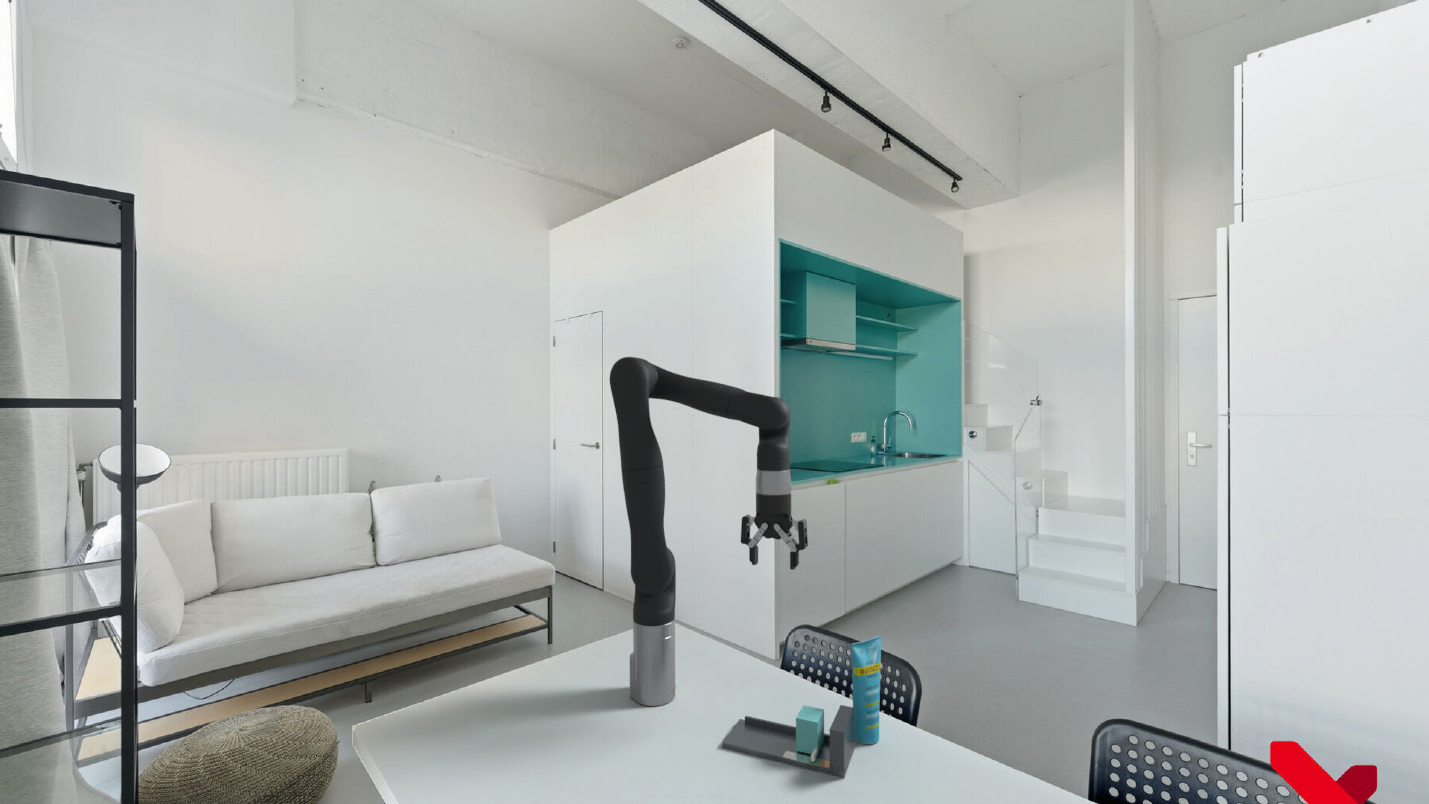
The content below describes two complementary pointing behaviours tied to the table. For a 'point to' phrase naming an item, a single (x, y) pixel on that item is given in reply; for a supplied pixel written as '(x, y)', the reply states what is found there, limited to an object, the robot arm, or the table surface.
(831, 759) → the base
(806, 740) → the block
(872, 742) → the tube
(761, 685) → the table surface
